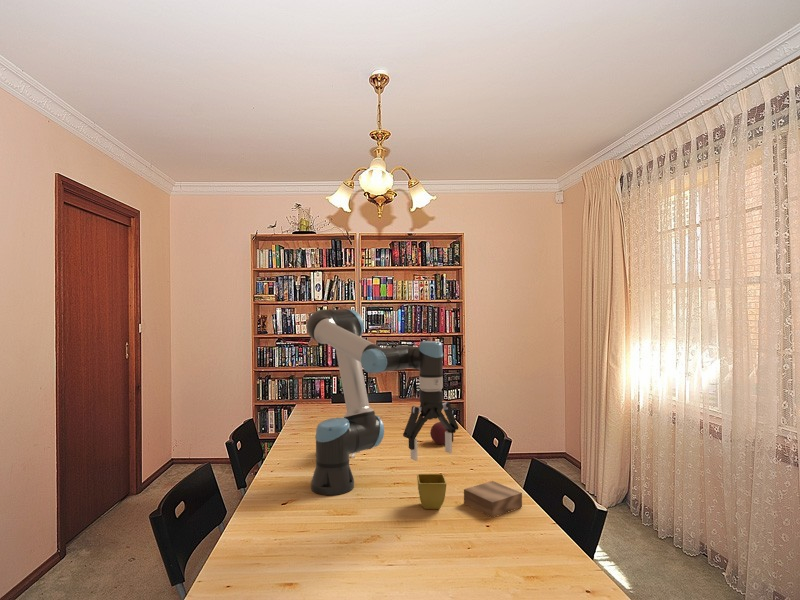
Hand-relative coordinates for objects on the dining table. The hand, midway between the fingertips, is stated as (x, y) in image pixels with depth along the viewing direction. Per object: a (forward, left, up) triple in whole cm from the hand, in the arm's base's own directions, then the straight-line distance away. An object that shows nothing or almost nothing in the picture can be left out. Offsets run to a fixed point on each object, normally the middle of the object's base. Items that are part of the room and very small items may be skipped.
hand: (431, 455), depth 160 cm
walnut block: (+17, -10, -17) cm, 26 cm away
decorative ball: (+45, +55, -16) cm, 73 cm away
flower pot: (0, 0, -16) cm, 16 cm away
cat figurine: (+2, +64, -16) cm, 66 cm away
